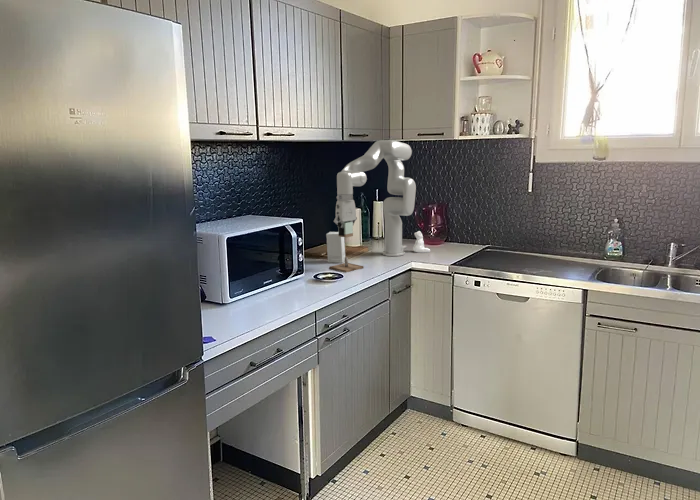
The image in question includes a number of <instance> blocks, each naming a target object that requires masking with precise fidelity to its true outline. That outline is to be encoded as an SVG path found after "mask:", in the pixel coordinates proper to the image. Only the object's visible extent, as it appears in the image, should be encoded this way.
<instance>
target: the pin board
mask: <svg viewBox="0 0 700 500" xmlns="http://www.w3.org/2000/svg"><path fill="white" fill-rule="evenodd" d="M364 267H365V266H364V265H360V264H355V263H352V262H351V263H350V262H349V257H347V256H345V261H344V262H343V263H338V264H335V265H331V266H329V267H328V268H329V269H330V270H334V271H338V272H343V273H349V272H350V273H351V272H353V271H357V270H362V269H364Z"/></svg>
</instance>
